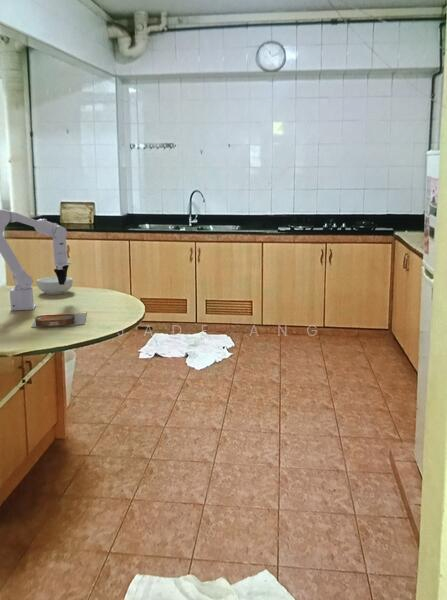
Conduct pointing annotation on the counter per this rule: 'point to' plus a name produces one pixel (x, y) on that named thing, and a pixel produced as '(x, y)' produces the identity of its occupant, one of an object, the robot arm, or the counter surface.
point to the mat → (79, 320)
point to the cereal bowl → (54, 285)
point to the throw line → (65, 313)
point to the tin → (55, 320)
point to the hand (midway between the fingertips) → (62, 282)
